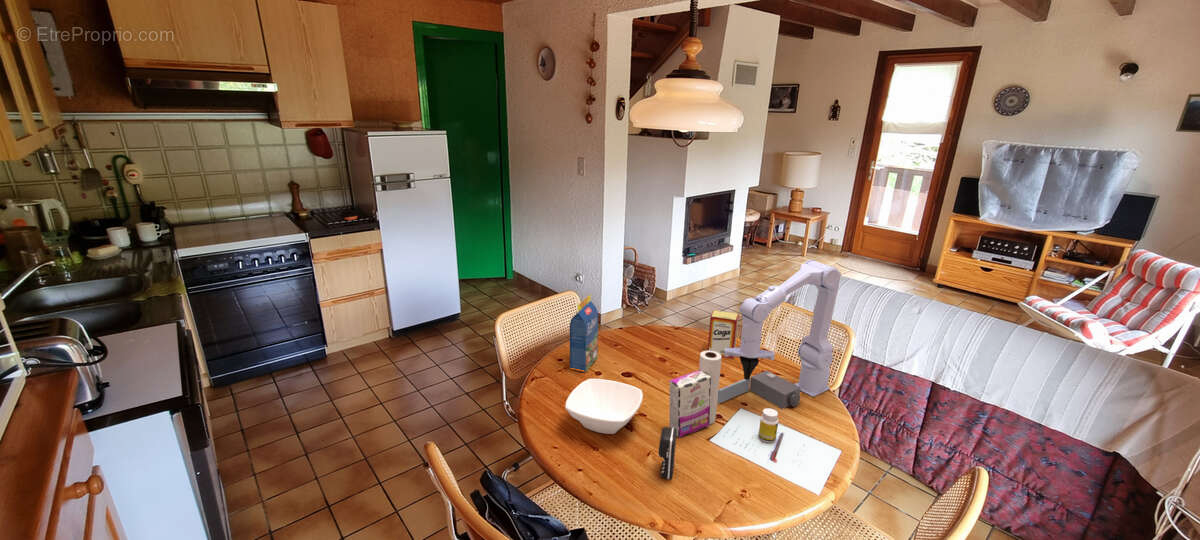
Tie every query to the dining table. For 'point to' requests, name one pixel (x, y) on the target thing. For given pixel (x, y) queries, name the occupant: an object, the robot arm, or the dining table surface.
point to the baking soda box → (723, 331)
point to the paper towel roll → (711, 367)
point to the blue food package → (584, 336)
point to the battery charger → (667, 451)
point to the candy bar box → (690, 402)
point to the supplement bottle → (768, 425)
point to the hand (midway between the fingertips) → (746, 378)
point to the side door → (733, 390)
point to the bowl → (604, 404)
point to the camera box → (775, 389)
